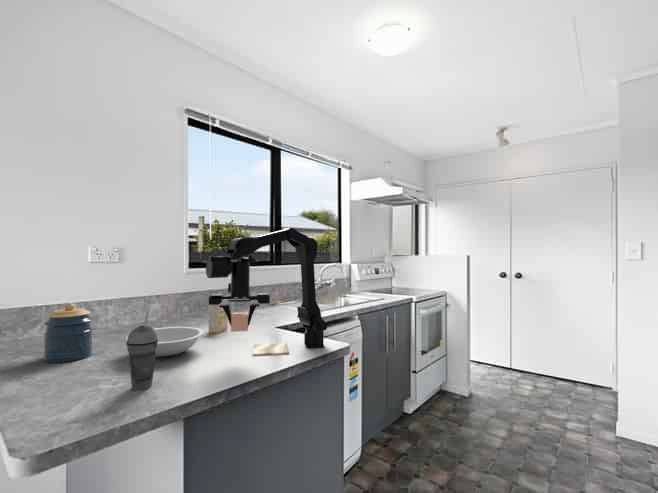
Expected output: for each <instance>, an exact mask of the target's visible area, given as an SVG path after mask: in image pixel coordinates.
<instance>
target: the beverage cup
mask: <svg viewBox="0 0 658 493" xmlns="http://www.w3.org/2000/svg"><path fill="white" fill-rule="evenodd" d="M149 310H150V309H149V308H146V312H145V320H144V325H139V326H136V327H135V328H133V329H132V330H131V331H130V332H129V334H128V335H127V336H128V338H127V342H126V344H125V345H126V348H127V353H128V358H129V359H128V360H129V375H130V384H131V390H132V391H144V390H148V389H150V388H151V387H152V385H153V379H154V372H155V371H154V370H155V362H156V356H155V352H156V348H157V342H158V338H157V334H156V332H155V330H154V329H155V328H153V327H151V326H149V325H148V318H149V317H148V316H149Z"/></svg>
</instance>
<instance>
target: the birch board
mask: <svg viewBox="0 0 658 493" xmlns="http://www.w3.org/2000/svg"><path fill="white" fill-rule="evenodd" d="M252 350H253V351H252V356H253V357H254V356H255V357H256V356H273V355H274V356H276V355H280V356H281V355H289V354H290V350H289V348H288V342H285V343H262V344H260V343H257V344H253V349H252Z"/></svg>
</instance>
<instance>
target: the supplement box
mask: <svg viewBox="0 0 658 493" xmlns="http://www.w3.org/2000/svg"><path fill="white" fill-rule="evenodd" d="M219 306H220V304H219V305H209V304H208V333H210V334H220V333H222V332H224V331H226V330H228V317H227V315H226V313H225V311H224V309H223V308H222V307H219Z"/></svg>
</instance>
